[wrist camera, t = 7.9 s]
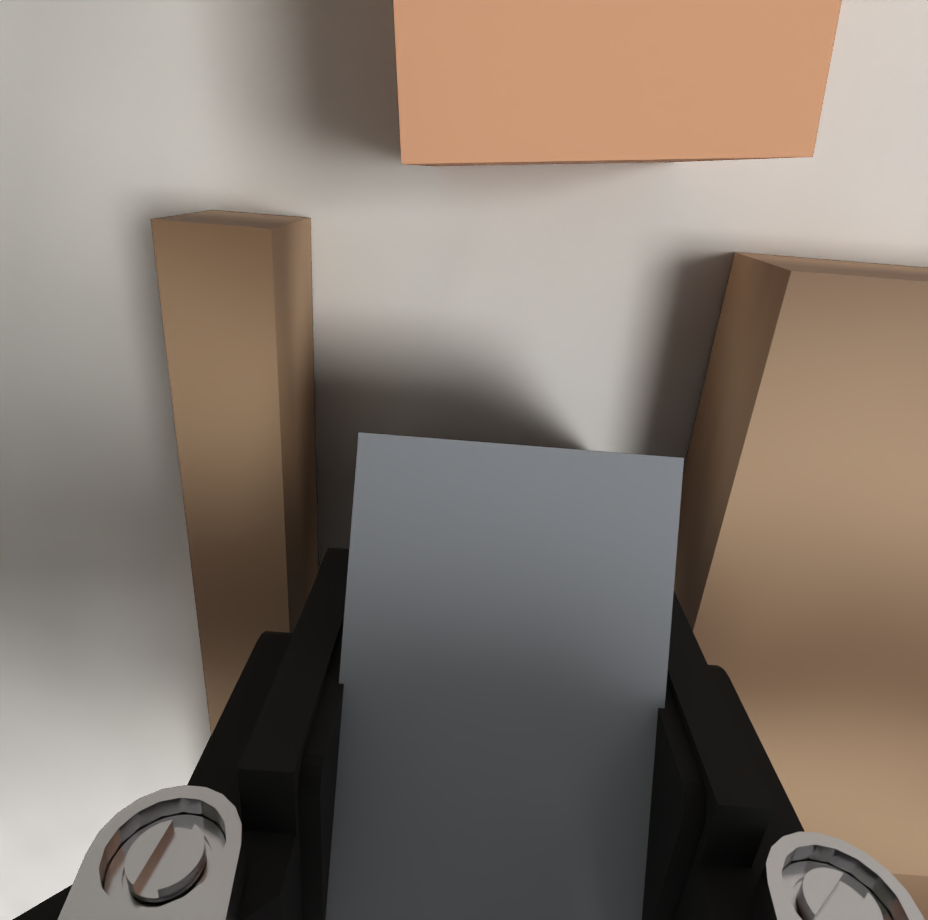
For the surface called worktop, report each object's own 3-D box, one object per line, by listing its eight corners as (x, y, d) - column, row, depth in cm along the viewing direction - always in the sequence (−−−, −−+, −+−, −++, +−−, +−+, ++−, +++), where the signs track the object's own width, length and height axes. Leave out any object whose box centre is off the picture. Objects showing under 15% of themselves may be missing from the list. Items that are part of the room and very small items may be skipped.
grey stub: (398, 443, 11) (358, 431, 7) (595, 458, 11) (682, 458, 7) (362, 896, 11) (300, 1179, 7) (560, 911, 11) (625, 1203, 7)
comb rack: (212, 209, 10) (151, 219, 8) (1672, 327, 10) (1939, 363, 8) (258, 786, 15) (226, 872, 13) (1223, 861, 15) (1325, 956, 13)
